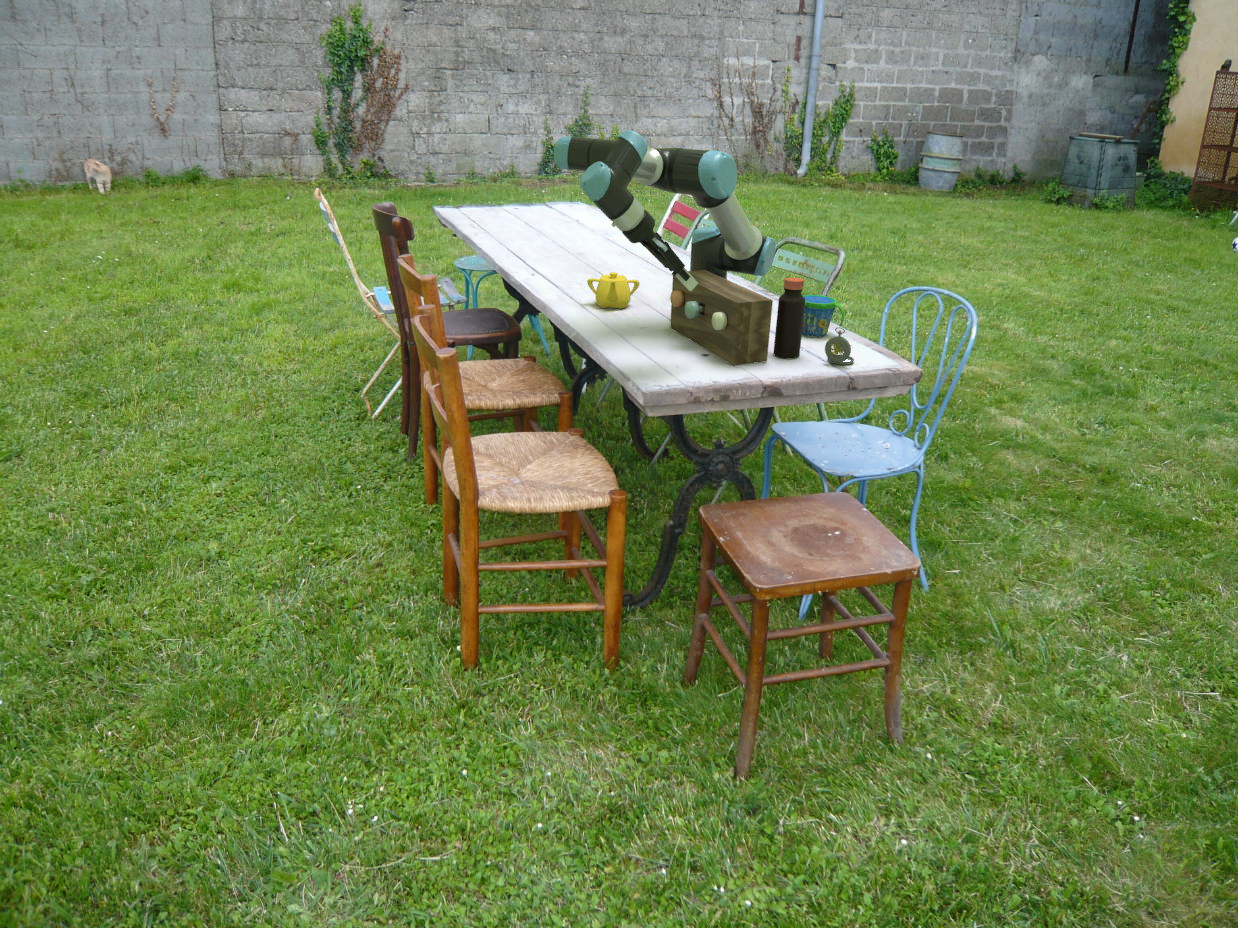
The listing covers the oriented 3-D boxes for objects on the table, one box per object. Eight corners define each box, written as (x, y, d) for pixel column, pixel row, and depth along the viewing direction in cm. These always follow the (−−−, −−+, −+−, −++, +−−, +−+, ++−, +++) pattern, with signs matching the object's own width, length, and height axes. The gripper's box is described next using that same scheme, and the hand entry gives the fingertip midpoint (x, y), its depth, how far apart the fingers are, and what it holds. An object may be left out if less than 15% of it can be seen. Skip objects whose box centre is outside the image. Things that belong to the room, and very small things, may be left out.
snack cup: (845, 334, 261) (850, 299, 257) (834, 343, 253) (839, 306, 249) (793, 325, 268) (797, 291, 264) (780, 334, 260) (784, 298, 255)
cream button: (719, 332, 231) (720, 315, 229) (711, 327, 235) (712, 310, 233) (738, 330, 233) (740, 313, 231) (730, 325, 237) (731, 309, 235)
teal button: (691, 320, 240) (692, 304, 239) (684, 316, 244) (685, 300, 242) (710, 318, 242) (711, 302, 241) (702, 314, 246) (703, 298, 244)
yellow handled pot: (644, 308, 282) (645, 274, 278) (612, 314, 275) (612, 280, 270) (615, 299, 292) (615, 266, 288) (583, 304, 284) (583, 271, 280)
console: (732, 365, 232) (737, 302, 225) (670, 328, 262) (673, 272, 255) (766, 361, 236) (772, 300, 229) (701, 325, 266) (705, 270, 259)
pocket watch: (849, 358, 240) (854, 321, 236) (858, 368, 233) (863, 330, 228) (818, 357, 240) (823, 320, 236) (826, 367, 232) (831, 329, 228)
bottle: (781, 350, 245) (789, 275, 237) (804, 355, 242) (812, 279, 233) (768, 355, 241) (775, 279, 232) (791, 360, 237) (799, 283, 229)
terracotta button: (677, 308, 251) (677, 293, 249) (670, 305, 255) (670, 289, 253) (695, 307, 253) (696, 291, 251) (687, 303, 257) (688, 288, 255)
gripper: (611, 227, 218) (671, 291, 231) (633, 238, 207) (695, 304, 220) (632, 203, 217) (691, 269, 230) (655, 212, 207) (716, 281, 220)
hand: (693, 286), depth 225 cm, fingers closed
